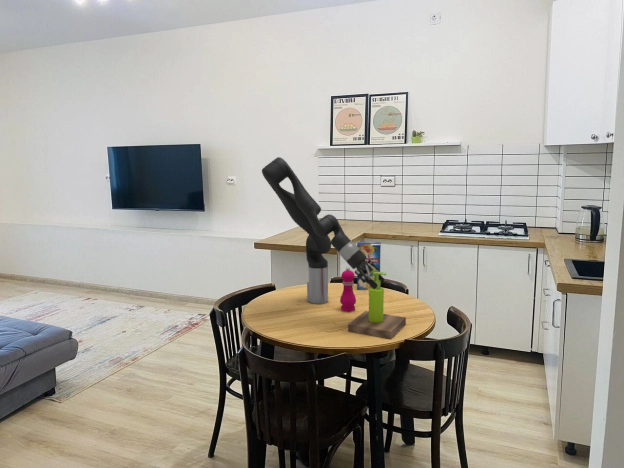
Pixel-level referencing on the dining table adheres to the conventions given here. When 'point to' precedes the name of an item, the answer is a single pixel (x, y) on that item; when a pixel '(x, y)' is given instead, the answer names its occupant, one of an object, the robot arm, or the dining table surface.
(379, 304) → the soap dispenser
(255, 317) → the dining table surface
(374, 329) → the walnut board
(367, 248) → the juice carton
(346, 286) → the pepper mill
